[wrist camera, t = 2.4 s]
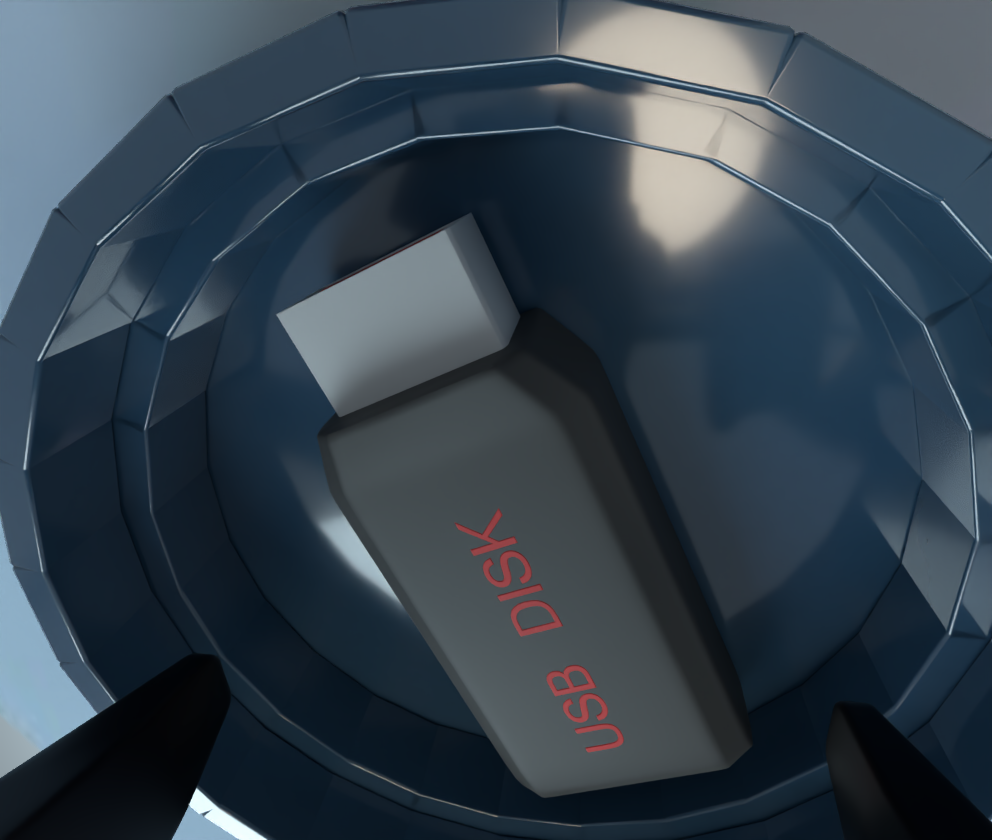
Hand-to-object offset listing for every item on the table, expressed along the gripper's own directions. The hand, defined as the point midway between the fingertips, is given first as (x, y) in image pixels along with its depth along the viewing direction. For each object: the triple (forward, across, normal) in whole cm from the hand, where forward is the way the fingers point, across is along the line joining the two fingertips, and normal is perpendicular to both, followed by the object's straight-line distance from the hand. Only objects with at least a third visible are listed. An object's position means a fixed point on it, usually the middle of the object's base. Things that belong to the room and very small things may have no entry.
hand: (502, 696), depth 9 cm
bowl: (+5, 0, 0) cm, 5 cm away
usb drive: (+5, 0, 0) cm, 5 cm away
